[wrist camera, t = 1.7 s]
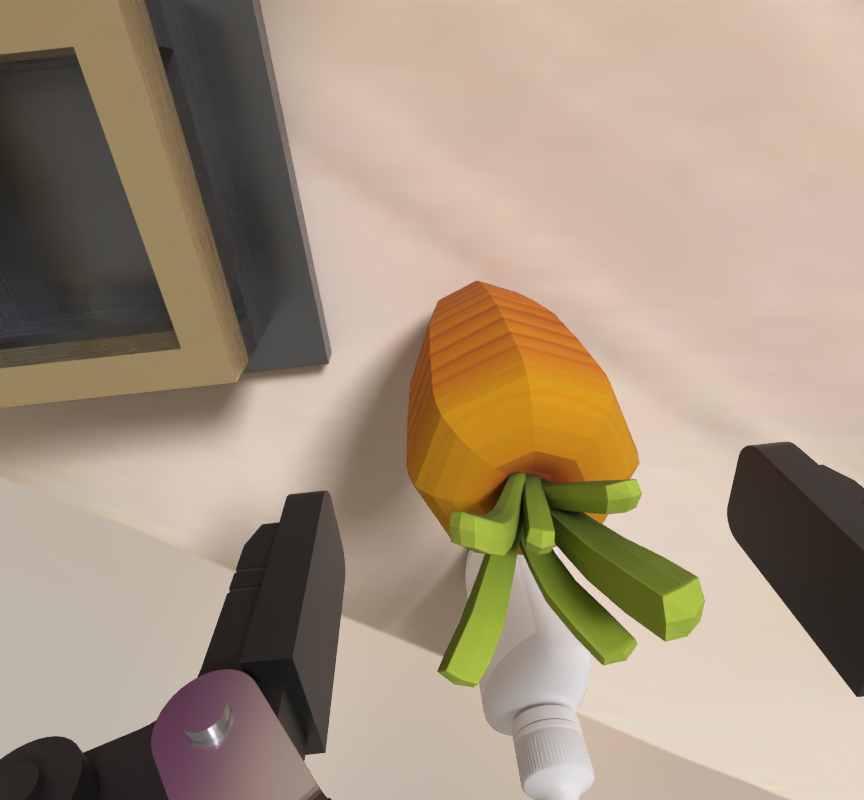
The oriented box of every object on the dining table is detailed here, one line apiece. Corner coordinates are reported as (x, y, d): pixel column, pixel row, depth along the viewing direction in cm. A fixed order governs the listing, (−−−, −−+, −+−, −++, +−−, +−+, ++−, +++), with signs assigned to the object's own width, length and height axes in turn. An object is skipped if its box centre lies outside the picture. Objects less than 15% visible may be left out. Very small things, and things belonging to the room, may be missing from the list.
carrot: (410, 366, 22) (428, 781, 9) (395, 241, 19) (388, 559, 6) (533, 353, 22) (737, 749, 9) (534, 227, 19) (824, 513, 6)
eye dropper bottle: (432, 552, 27) (454, 844, 16) (523, 491, 25) (612, 773, 15) (486, 595, 28) (536, 884, 18) (574, 541, 27) (685, 824, 16)
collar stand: (-234, -31, 15) (-541, -91, 10) (242, -82, 15) (166, -166, 10) (1, 388, 21) (-115, 474, 16) (331, 352, 21) (311, 428, 16)
